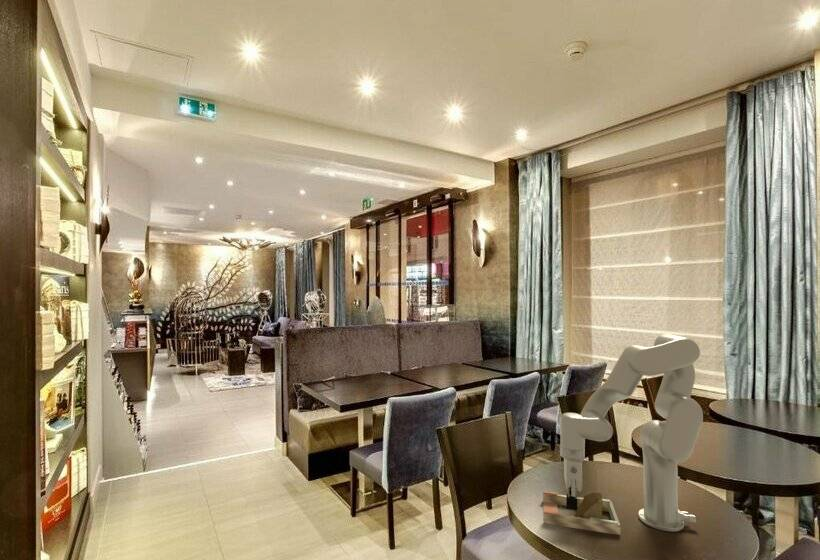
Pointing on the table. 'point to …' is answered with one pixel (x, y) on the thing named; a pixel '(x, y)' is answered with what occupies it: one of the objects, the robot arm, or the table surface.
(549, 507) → the pads
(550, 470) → the table surface
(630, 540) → the table surface
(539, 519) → the table surface
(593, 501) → the rock
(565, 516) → the box
